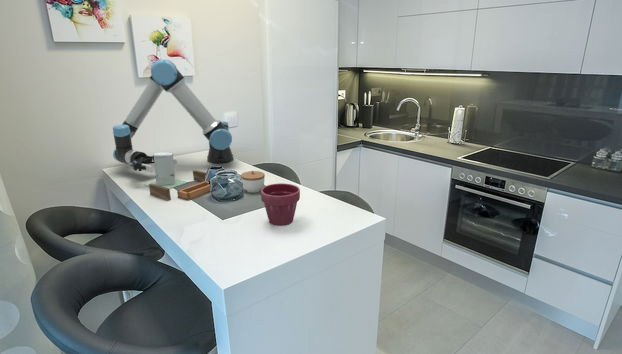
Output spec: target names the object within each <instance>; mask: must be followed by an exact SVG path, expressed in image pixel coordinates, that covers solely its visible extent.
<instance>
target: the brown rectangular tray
mask: <svg viewBox="0 0 622 354" xmlns="http://www.w3.org/2000/svg"><path fill="white" fill-rule="evenodd" d="M176 192H177V198H178V199H181V200H185V201H190V200H193V199H196V198H198V197H201V196H203V195H206V194H209V193H211V192H210V184H209V182H208V181H204V182H198V183H196V184H193V185H190V186H188V187H185V188H182V189H179V190H177V191H176Z"/></svg>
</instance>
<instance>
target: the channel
mask: <svg viewBox="0 0 622 354" xmlns="http://www.w3.org/2000/svg"><path fill="white" fill-rule="evenodd" d="M206 173H207V172H205V171H201V170H198V169H193V170H192V175H193V178H192V179H193V181H195V182H198V183H201V182H204V181H205V175H206ZM150 183H151V184H149V183H148V184H149V187H148V188H149V195H150V196H153V197H154V198H158V199H162V200H164V201H170V200H171V199H172V198H171V189H169V188H166V187H162V186H159V185H156V184H153V183H152V182H150Z"/></svg>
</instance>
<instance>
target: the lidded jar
mask: <svg viewBox="0 0 622 354" xmlns="http://www.w3.org/2000/svg"><path fill="white" fill-rule="evenodd" d="M265 177H266V175H265V173H264V172H263V171H258V170H251V171H245V172H242V173H241V174H240V178H241V179H242V180H241V179H240V180H241V183H242V182H243V185H242V187H243V188H244V190H246V192H248V193H258V192H260V191H261V189H262V188H263V187H264V185H265Z"/></svg>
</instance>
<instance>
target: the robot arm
mask: <svg viewBox="0 0 622 354" xmlns="http://www.w3.org/2000/svg"><path fill="white" fill-rule="evenodd" d="M163 91H165V92H166V93H170V94H171V95H172V96H173V97H174V98H175V100H177V102H178V103H179V104H180V105H181V106H182V107H183V109H184V110H186V112H187V113H188V114H189V115H190V117H192V119H193V120H194V121H195V122H196V123H197V125H198V126H199V127H200V128H201V129H202V135H203V136H204V137H205V138H206V139H207V140H208V146H209V147H208V148H209V149H208V152H207V156H206V159H207V162H209V163H210V164H211V163H212V164H224V163H226V164H227V163H229V162H232V161H234V154H233V152H232V150H231V144H232V140H233V136H232V133H231V132H230V130H229V128H230V127H229V122H228V121H221V120H219V119H216V118H214V116H213V115H212V114H211V112H210V111H209V110H208V109H207V107H205V105H204V104H203V103H202V102H201V100H200V99H199V98H198V97H197V96H196V94H195V93H194V92H193V91H192V90H191V88H189V86H188V85H187V84H186V83H185V76H183V74H182V73H181V72H180V71H179V69H178V68H177V66H176V64H175V63H173V62H172V61H171V60H169V59H158V60H156V61H154V63H153V64H152V65H151V68H150V77H149V82H148V84H147V85H146V87H145V88H144V90H143V92H142V93H141V95H140V96H139V97H138V99H137V101H136V102H135V103H134V106H133V107H132V108H131V110H130V111H129V113H128V115H127V116H126V118H125V120H124V121H123V122H122V124H117V125H114V126H113V127H112V134H113V139H114V144H115V148H114V150H113V154H112V156H113V158H114V159H115V160H116V161H117V162H120V163H122V164H128V165H130V167H132V168H133V170H134V171H138V172H143V171H146V172H149V173H152V172H153V166H152V164H155V163H154V154H153V156H151V155H148V154H147V153H146V152H142V151H138V150H134V149H133V143H132V138H133V137H134V136H135V135H136V132H137V131H138V129H139V127H140V126H141V125H142V123H143V122H144V120H145V119H146V117H147V116H148V114H149V112H150V111H151V110H152V108H153V106H154V105H155V103H156V102H157V100H158V99H159V97H160V96H161V94H162V92H163ZM177 161H178V160H177V158H174V166H177V165H178V162H177ZM150 164H151V165H150Z"/></svg>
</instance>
